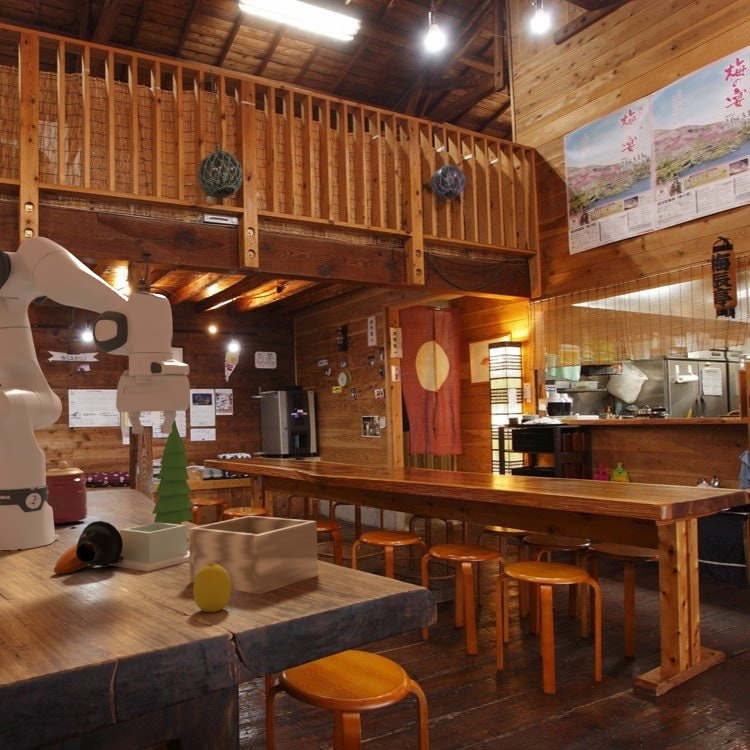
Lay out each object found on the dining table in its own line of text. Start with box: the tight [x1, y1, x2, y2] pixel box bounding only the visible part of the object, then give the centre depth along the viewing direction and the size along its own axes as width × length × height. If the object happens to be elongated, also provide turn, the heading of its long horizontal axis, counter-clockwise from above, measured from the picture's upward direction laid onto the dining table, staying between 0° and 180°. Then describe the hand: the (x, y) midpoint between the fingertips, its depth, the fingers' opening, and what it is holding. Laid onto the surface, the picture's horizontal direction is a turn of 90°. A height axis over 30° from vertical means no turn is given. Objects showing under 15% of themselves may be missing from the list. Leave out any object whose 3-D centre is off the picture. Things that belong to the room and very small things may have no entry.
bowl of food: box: [76, 520, 124, 568], centre depth 135 cm, size 9×11×18 cm
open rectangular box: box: [108, 522, 190, 572], centre depth 139 cm, size 14×14×7 cm
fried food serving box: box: [188, 515, 319, 595], centre depth 120 cm, size 17×15×10 cm
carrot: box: [53, 543, 94, 575], centre depth 134 cm, size 5×5×15 cm
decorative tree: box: [151, 419, 195, 542], centre depth 161 cm, size 10×9×30 cm
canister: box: [46, 460, 88, 524], centre depth 201 cm, size 13×13×18 cm
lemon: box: [192, 562, 232, 613], centre depth 100 cm, size 6×6×8 cm
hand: (151, 433), depth 140 cm, fingers open, 8 cm apart
